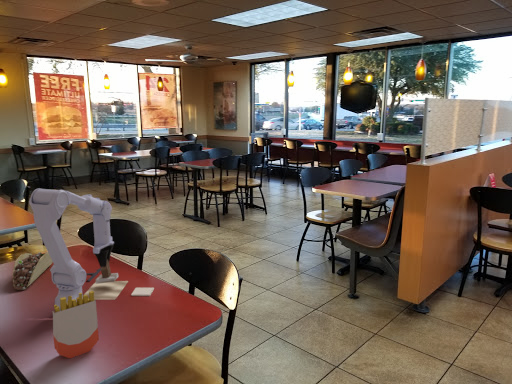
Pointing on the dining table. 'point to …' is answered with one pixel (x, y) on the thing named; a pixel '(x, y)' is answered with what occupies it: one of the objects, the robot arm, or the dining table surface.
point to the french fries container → (75, 325)
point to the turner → (106, 275)
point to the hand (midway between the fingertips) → (104, 264)
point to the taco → (29, 269)
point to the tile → (142, 292)
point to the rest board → (106, 290)
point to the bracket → (93, 274)
